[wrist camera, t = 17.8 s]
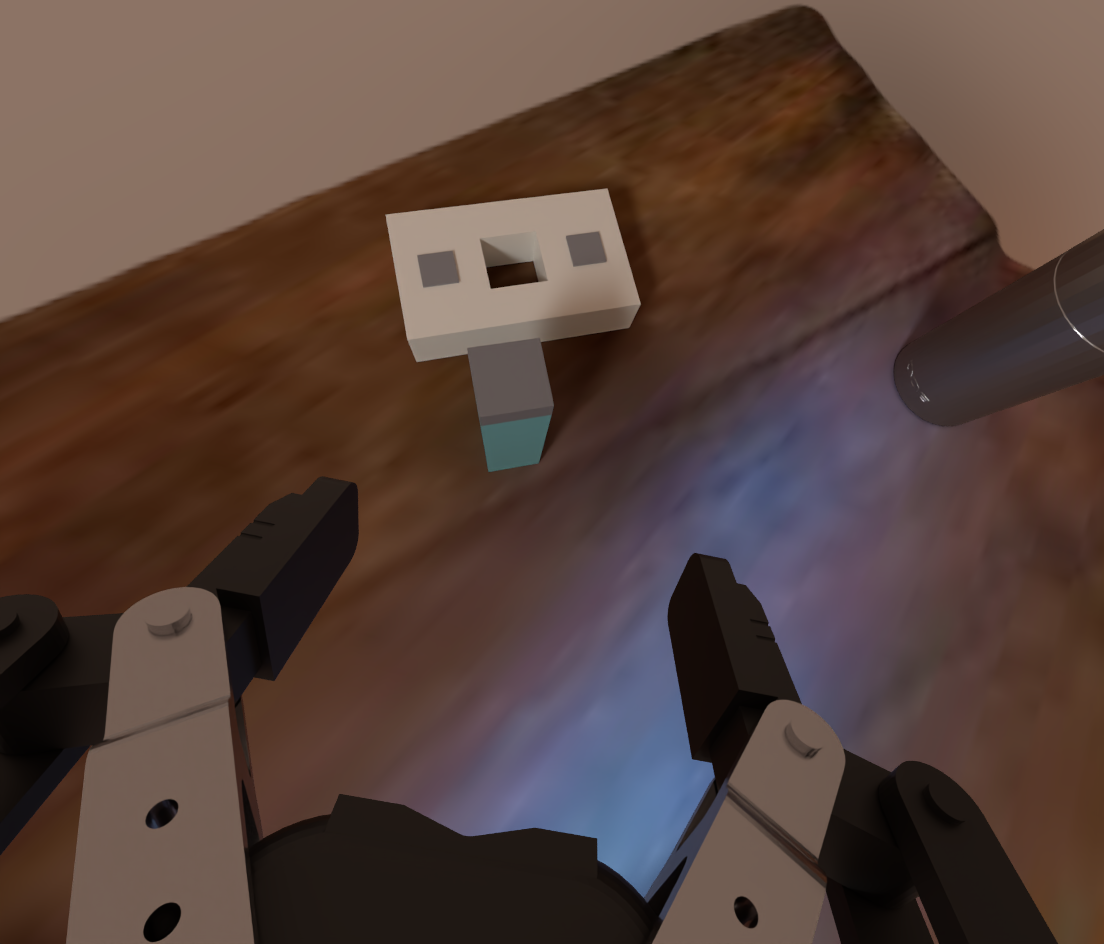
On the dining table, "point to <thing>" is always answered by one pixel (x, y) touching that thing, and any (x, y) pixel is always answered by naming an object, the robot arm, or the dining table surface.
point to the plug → (511, 401)
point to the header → (506, 238)
